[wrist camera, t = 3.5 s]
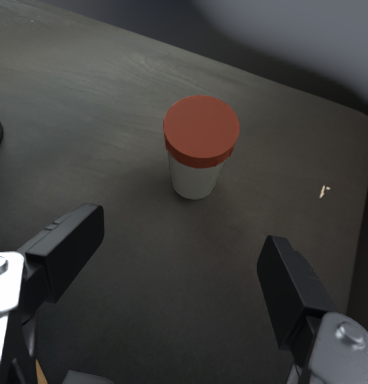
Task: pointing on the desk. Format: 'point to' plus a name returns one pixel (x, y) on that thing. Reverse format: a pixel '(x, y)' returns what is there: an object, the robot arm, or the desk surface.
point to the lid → (200, 131)
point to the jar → (193, 179)
